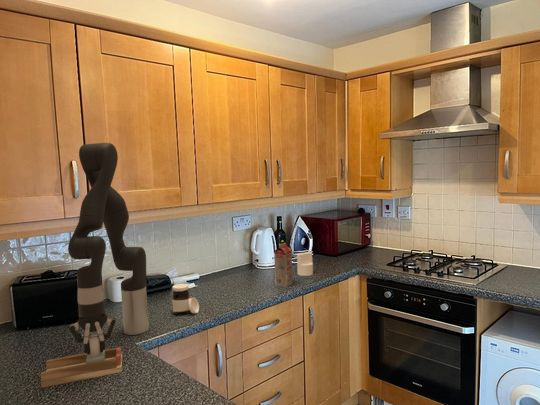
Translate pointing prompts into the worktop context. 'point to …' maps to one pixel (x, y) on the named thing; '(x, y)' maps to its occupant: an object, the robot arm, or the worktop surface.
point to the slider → (95, 350)
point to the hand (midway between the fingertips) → (95, 352)
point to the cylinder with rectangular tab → (304, 264)
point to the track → (80, 368)
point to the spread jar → (183, 300)
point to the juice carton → (283, 265)
